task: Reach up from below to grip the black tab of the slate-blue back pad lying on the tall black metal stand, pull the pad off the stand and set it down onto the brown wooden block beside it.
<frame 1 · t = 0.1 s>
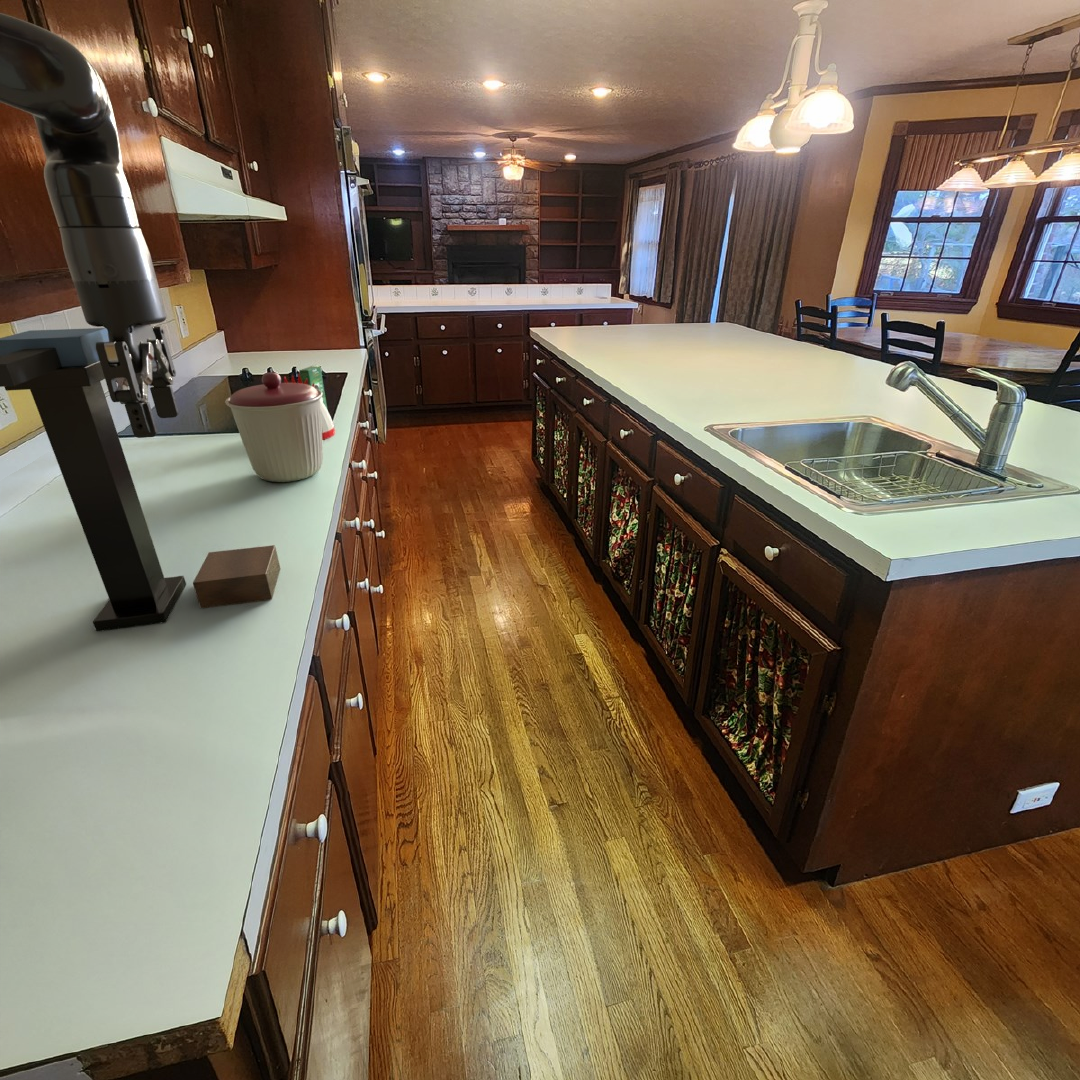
hand: (158, 426, 71), 25 cm above the worktop, tool pointing down, fingers open, 8 cm apart
brown wooden block: (242, 587, 86), on the worktop
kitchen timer: (306, 435, 154), on the worktop
canister: (290, 475, 128), on the worktop
back pad: (62, 361, 68), point 32 cm above the worktop, touching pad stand
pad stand: (144, 606, 81), on the worktop
coffee box: (317, 415, 173), on the worktop
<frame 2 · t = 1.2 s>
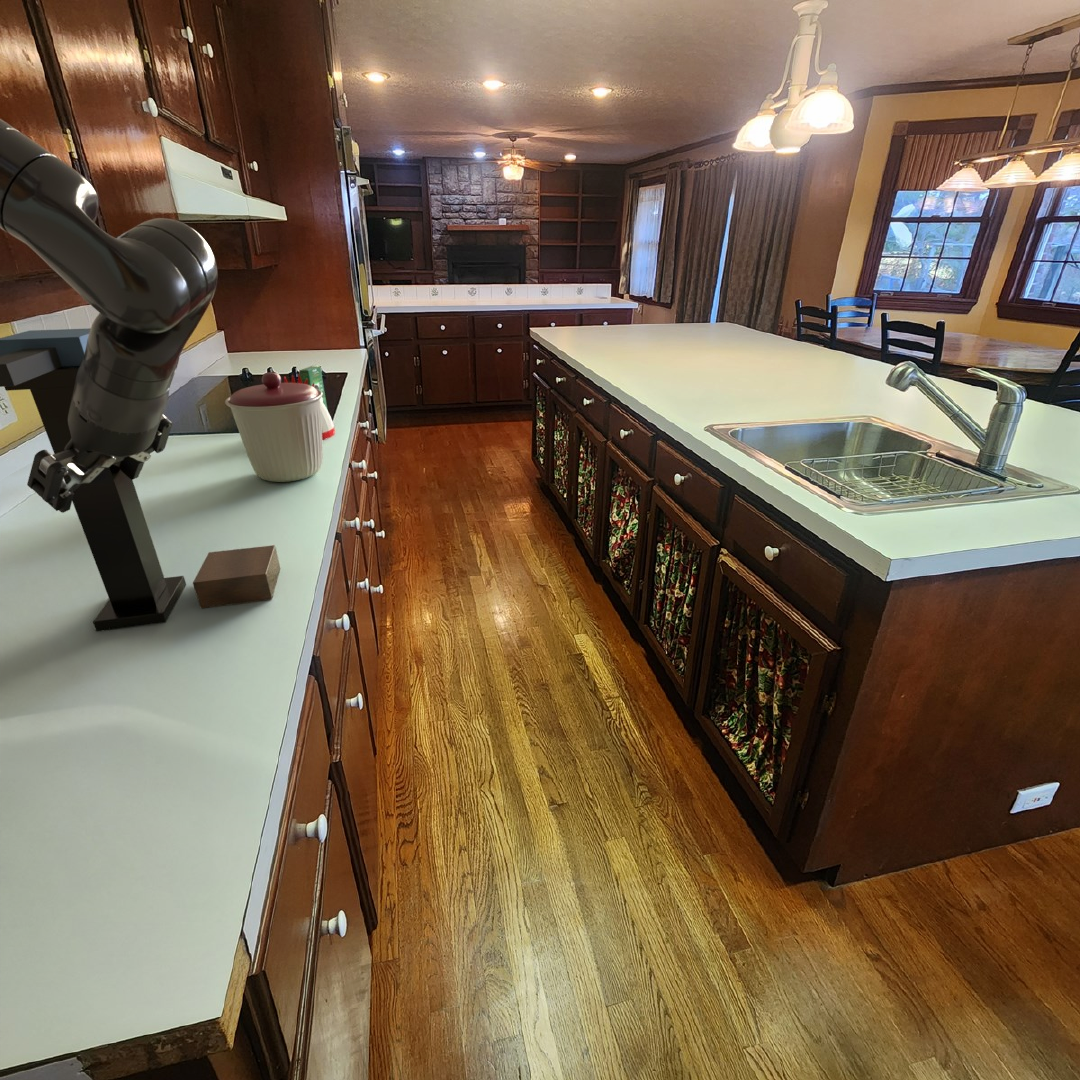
hand: (94, 489, 71), 18 cm above the worktop, tool tilted 45°, fingers open, 8 cm apart
nothing on the worktop moved.
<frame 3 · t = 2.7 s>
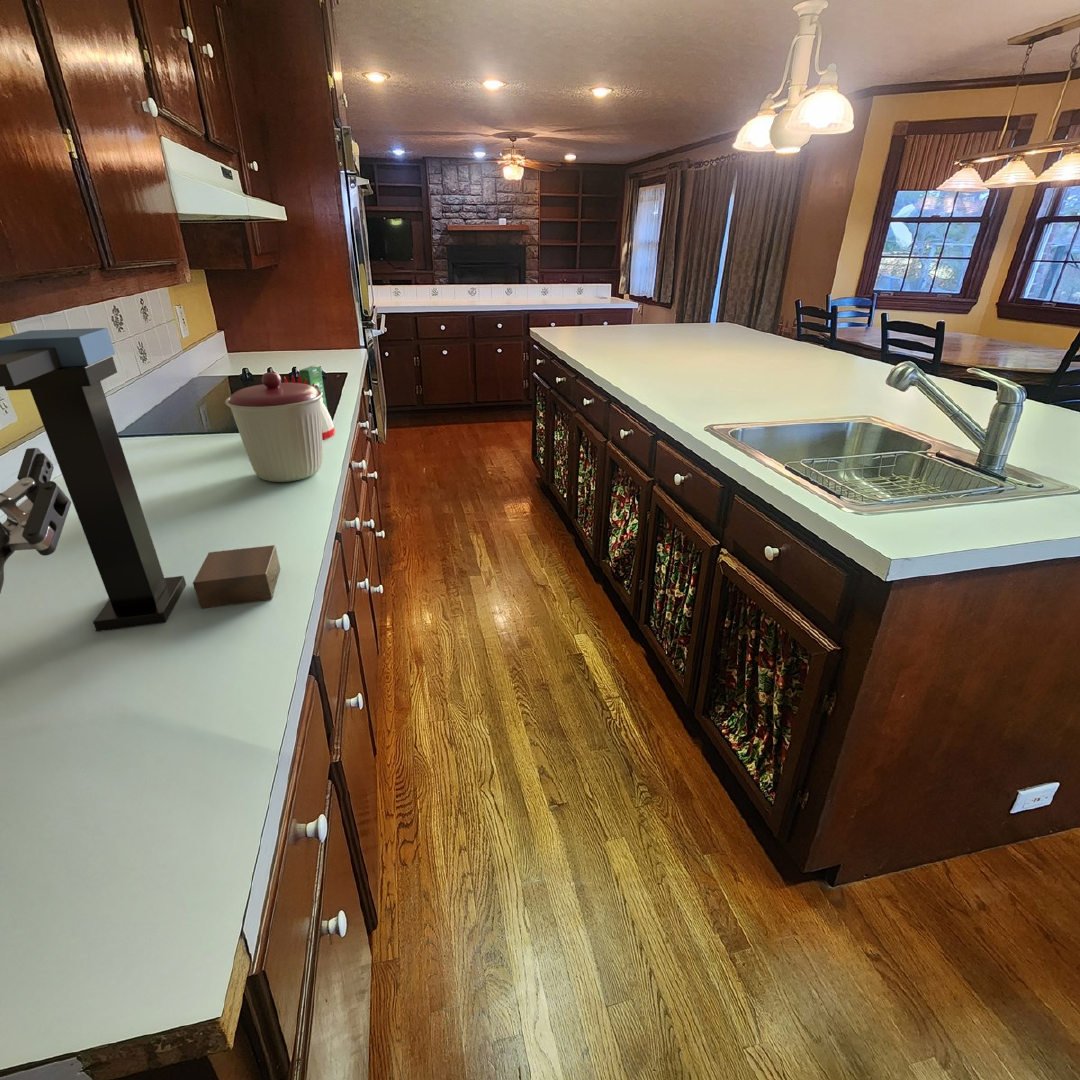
nothing on the worktop moved.
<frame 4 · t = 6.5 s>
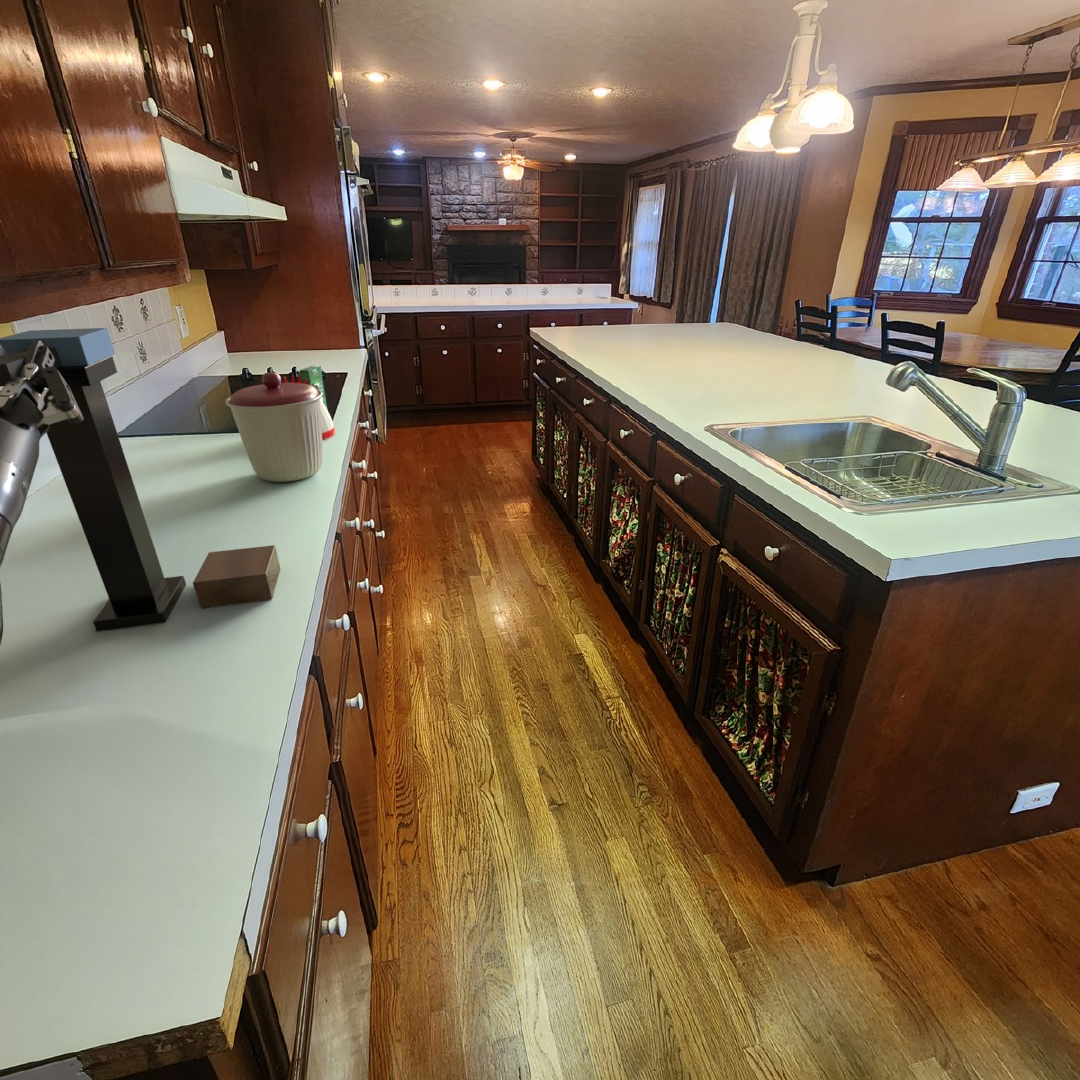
hand: (20, 349, 61), 34 cm above the worktop, tool pointing upward, fingers closed on back pad, 3 cm apart
back pad: (62, 361, 68), point 32 cm above the worktop, touching gripper, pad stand
everything else where it was.
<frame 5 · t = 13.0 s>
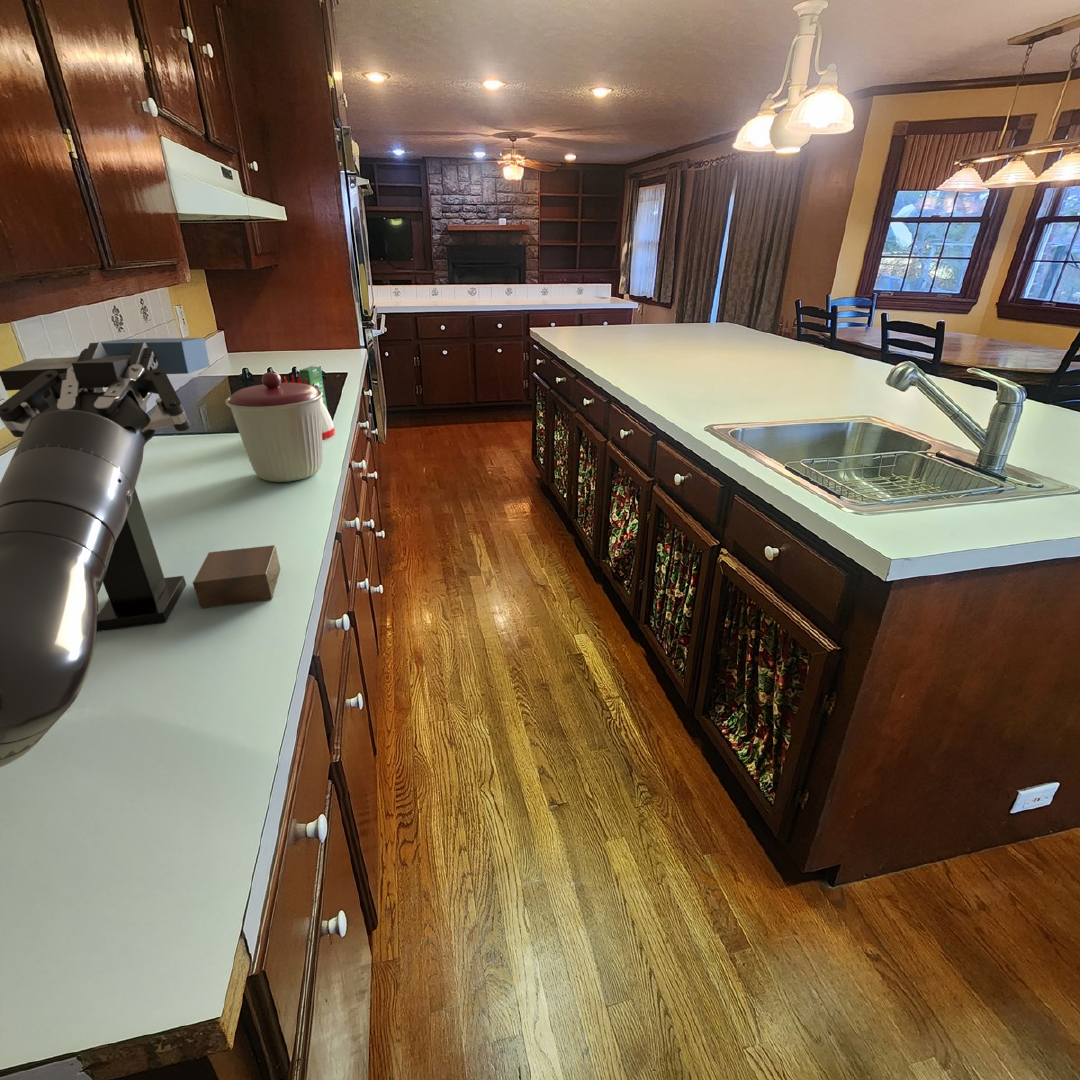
hand: (122, 351, 55), 35 cm above the worktop, tool pointing upward, fingers closed on back pad, 3 cm apart
back pad: (157, 370, 63), point 32 cm above the worktop, touching gripper
everything else where it was.
when the fingers open (7 cm above the worktop, at t = 19.5 s): back pad stays where it is, resting on brown wooden block.
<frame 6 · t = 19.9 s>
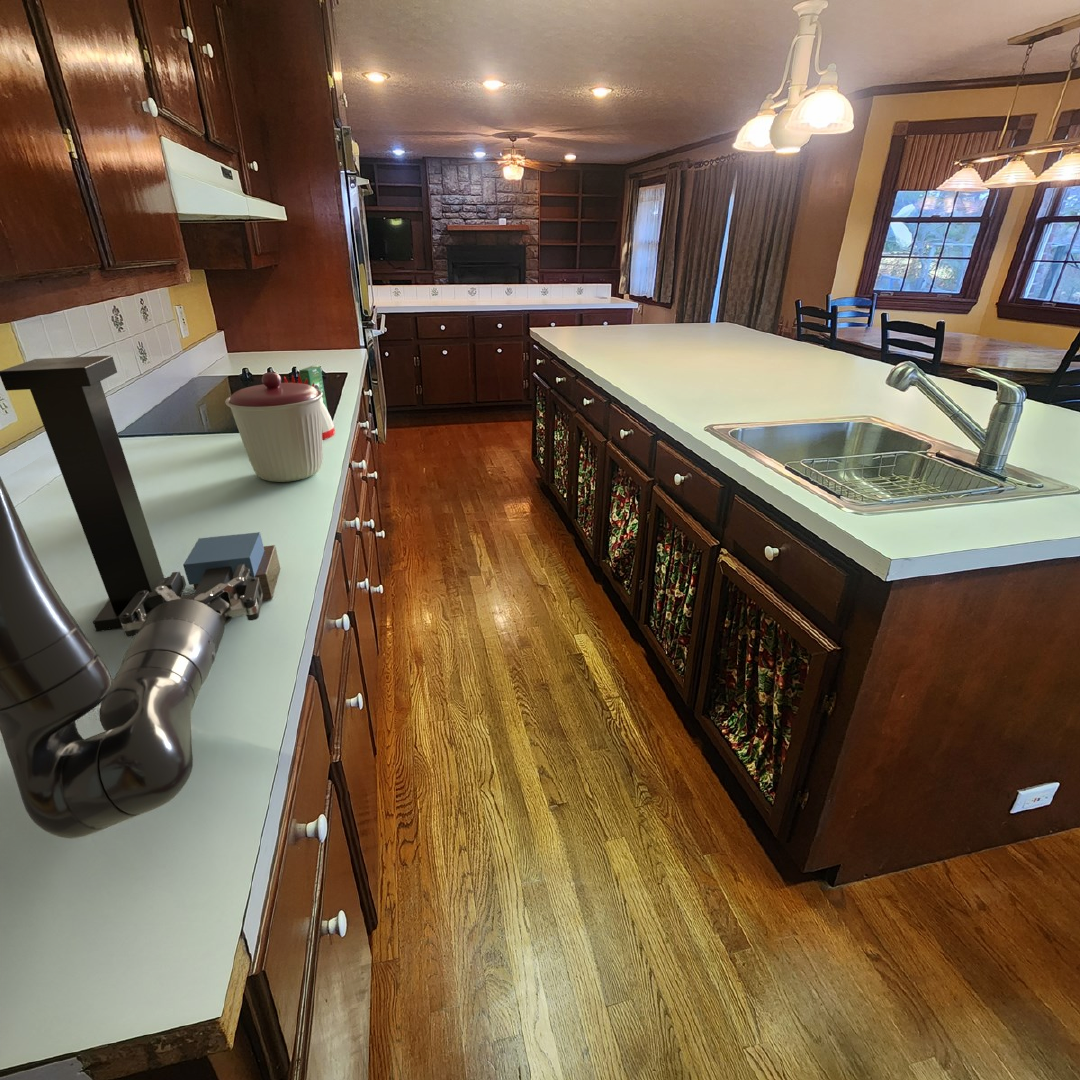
hand: (211, 574, 76), 7 cm above the worktop, tool horizontal, fingers open, 7 cm apart
back pad: (228, 567, 83), point 4 cm above the worktop, touching brown wooden block
everything else where it was.
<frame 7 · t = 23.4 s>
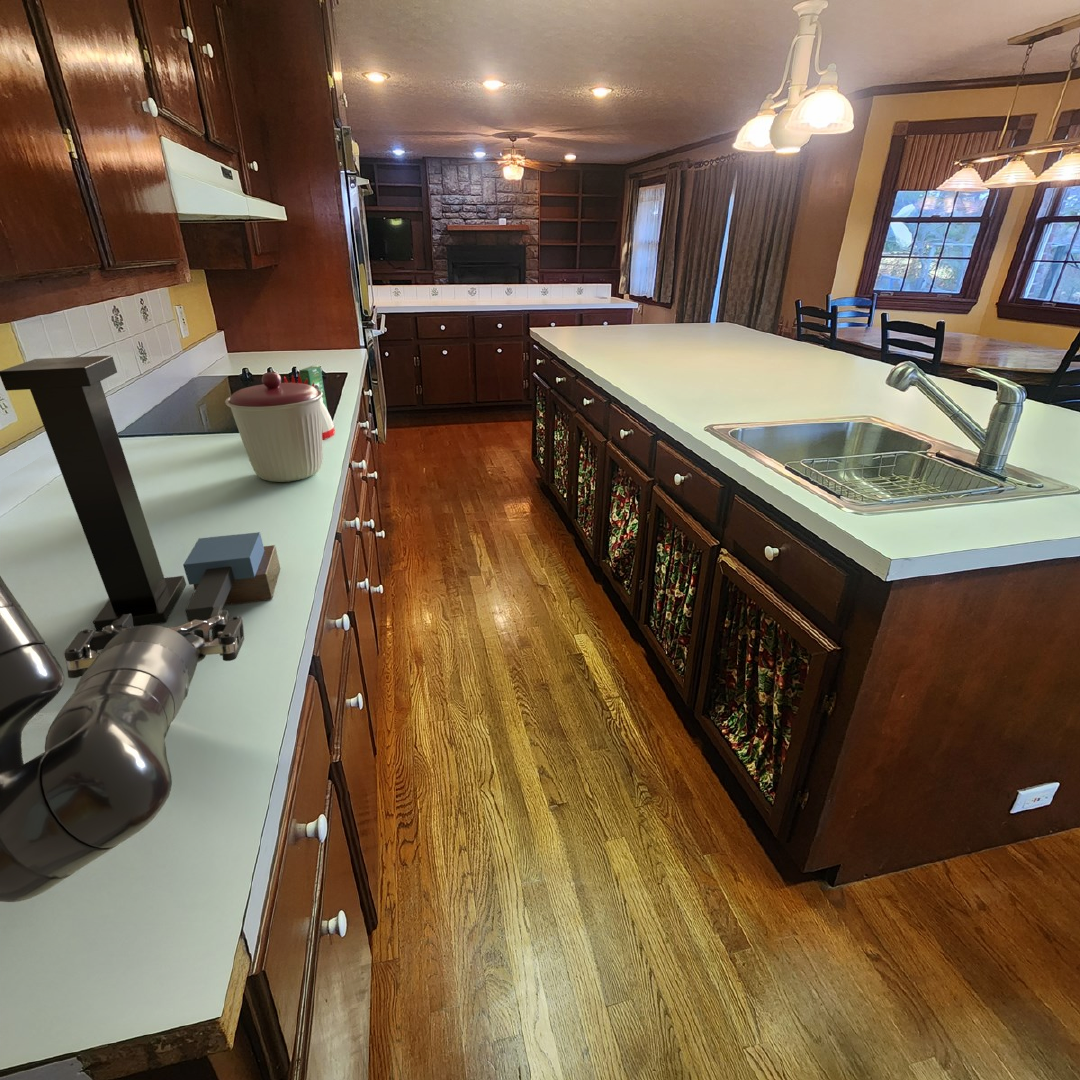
hand: (175, 618, 66), 7 cm above the worktop, tool horizontal, fingers open, 8 cm apart
nothing on the worktop moved.
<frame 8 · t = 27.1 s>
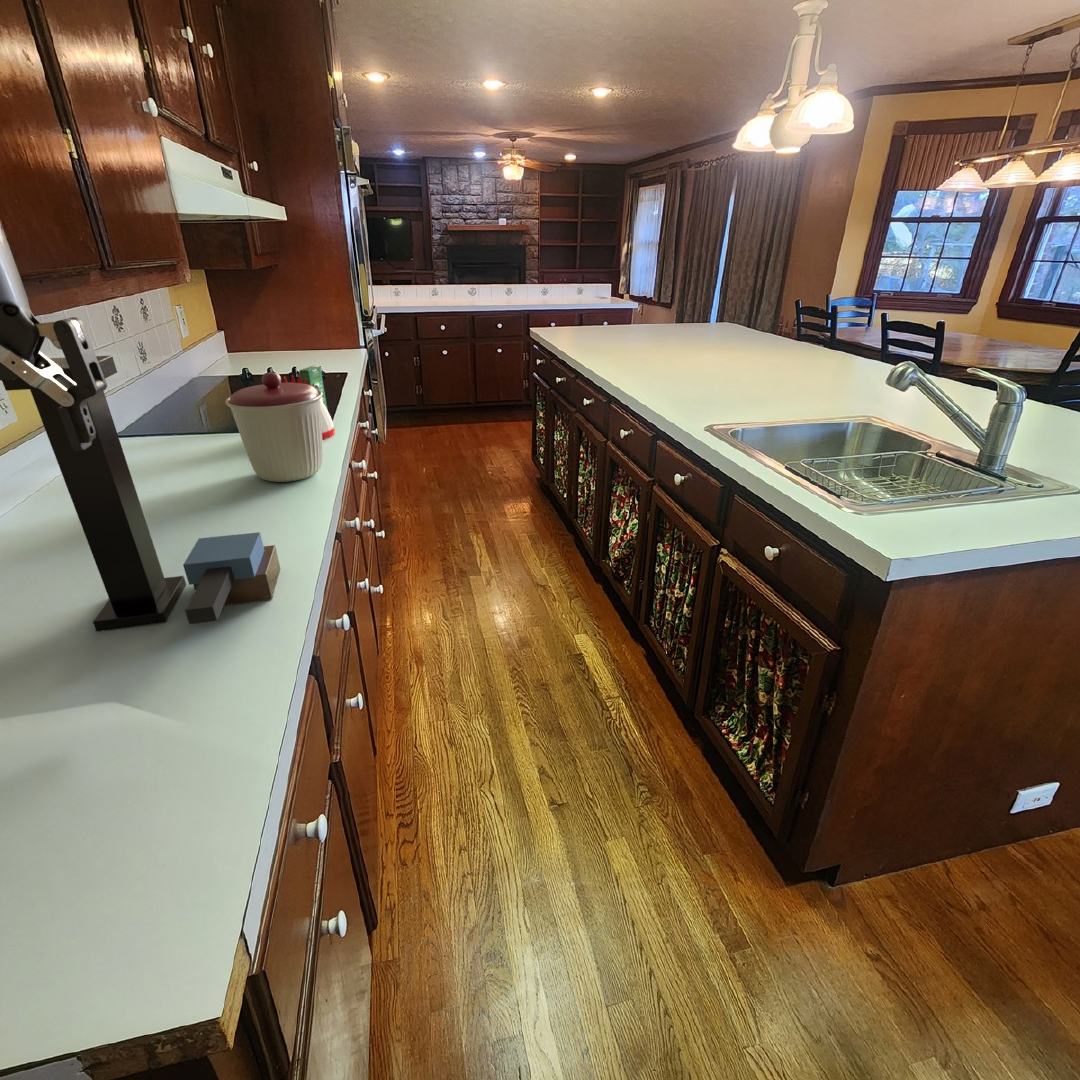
hand: (25, 452, 51), 28 cm above the worktop, tool pointing down, fingers open, 8 cm apart
nothing on the worktop moved.
at the end: back pad inside the target area on the brown wooden block (1.4 cm from its centre), point 4.0 cm above the brown wooden block's base; back pad tilted 0°; the gripper is holding nothing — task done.
